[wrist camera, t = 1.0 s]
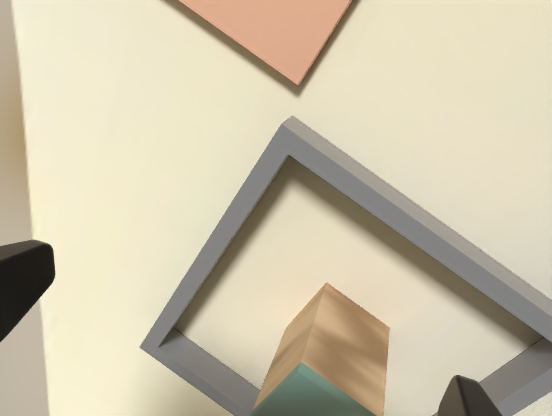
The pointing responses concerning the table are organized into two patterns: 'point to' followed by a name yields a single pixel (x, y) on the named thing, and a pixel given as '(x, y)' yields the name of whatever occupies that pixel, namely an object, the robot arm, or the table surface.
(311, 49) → the tile
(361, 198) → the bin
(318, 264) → the table surface
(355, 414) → the oak block
